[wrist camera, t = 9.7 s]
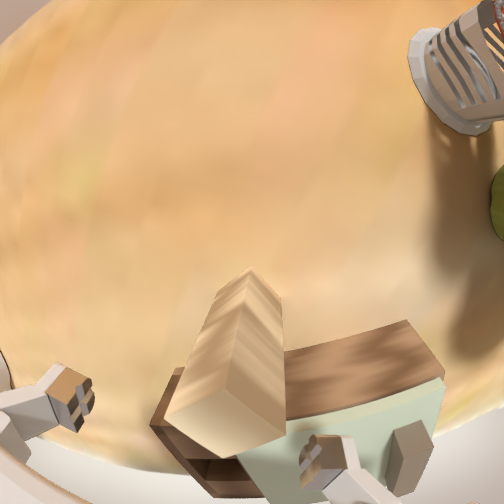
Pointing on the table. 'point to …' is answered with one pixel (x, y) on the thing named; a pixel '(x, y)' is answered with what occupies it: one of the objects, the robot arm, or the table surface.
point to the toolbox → (312, 395)
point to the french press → (462, 69)
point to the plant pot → (498, 203)
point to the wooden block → (235, 372)
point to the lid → (366, 442)
